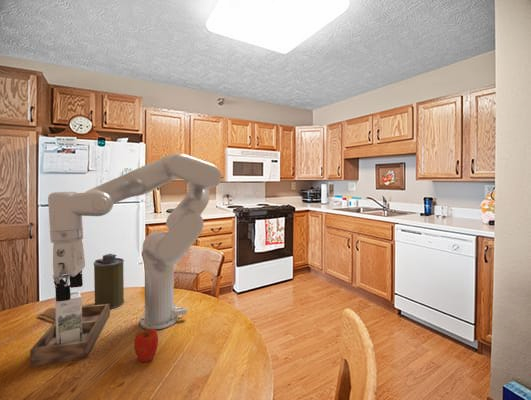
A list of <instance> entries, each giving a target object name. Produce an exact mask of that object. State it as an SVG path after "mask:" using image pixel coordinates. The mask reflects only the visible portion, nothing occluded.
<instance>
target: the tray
mask: <svg viewBox="0 0 531 400" xmlns="http://www.w3.org/2000/svg"><path fill="white" fill-rule="evenodd" d="M110 313H111V309H110V304H102V305H95V304H93V305H92V304H91V305H85V306H84V305H82V341H79V342H72V343H64V344H57V343H56V322H55V323H53V324H52V325H51V326H50V327H49V328H48V329H47V330H46V332H45V333H43V335H42V336H41V337H40V338H39V340H37V342H36V343H35V344H34V345H33V346H32V347H31V348H30V349H29V357H30V359H29V361H30V362H29V363H30V367H38V366H43V365H50V364H57V363H64V362H70V361H77V360H83V359H84V360H85V359H88V358H89V357H90V354H91V352H92V350H93V348H94V347H95V345H96V343H97V341H98V339H99V337H100V335H101V334H102V333H103V332H102V331H103V330H104V327H105V325H106V324H107V321H108V320H109V318H110V317H111V314H110Z"/></svg>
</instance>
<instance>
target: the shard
mask: <svg viewBox="0 0 531 400" xmlns="http://www.w3.org/2000/svg"><path fill="white" fill-rule="evenodd" d="M37 316H38V318H40V319H44V320H46V321H48V322H50V323H53V324H54V323H55V322H56V312H55V307H50V308H49V307H48V308H46V309H45V310H43V312H40V313H39V314H38V315H37Z"/></svg>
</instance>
